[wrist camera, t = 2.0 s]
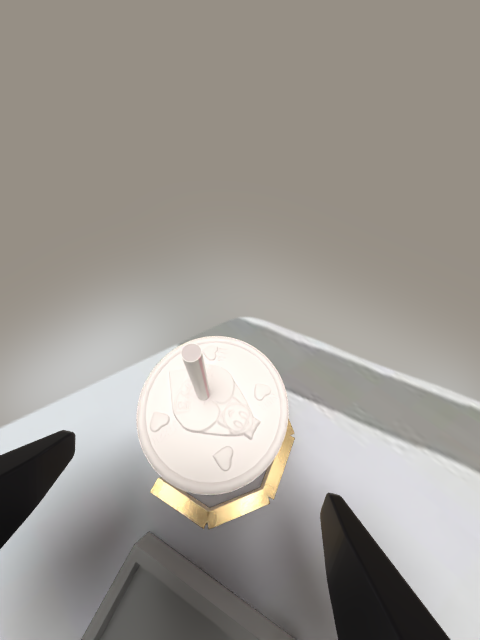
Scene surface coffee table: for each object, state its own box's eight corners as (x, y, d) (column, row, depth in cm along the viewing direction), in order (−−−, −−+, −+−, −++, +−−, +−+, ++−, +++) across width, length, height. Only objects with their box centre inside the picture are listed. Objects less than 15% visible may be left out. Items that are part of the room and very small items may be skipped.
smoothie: (209, 374, 20) (187, 245, 8) (274, 416, 19) (362, 332, 7) (158, 446, 17) (9, 403, 5) (231, 503, 16) (254, 623, 4)
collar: (249, 553, 14) (251, 562, 13) (156, 489, 16) (150, 491, 14) (303, 402, 19) (308, 398, 18) (228, 364, 21) (229, 357, 20)
